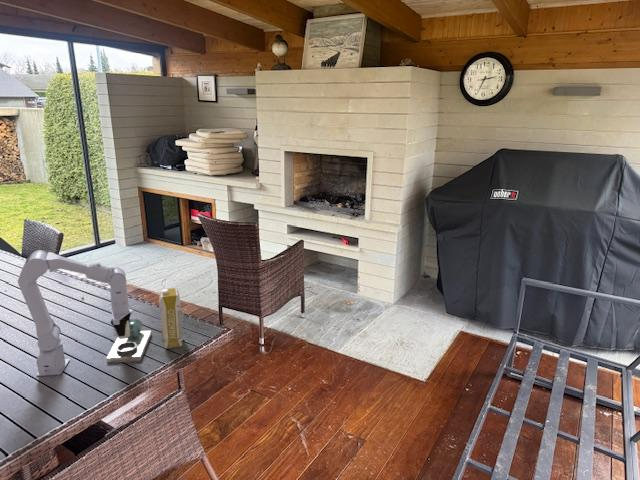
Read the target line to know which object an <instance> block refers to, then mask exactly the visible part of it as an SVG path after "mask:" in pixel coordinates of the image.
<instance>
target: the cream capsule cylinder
mask: <svg viewBox="0 0 640 480" xmlns="http://www.w3.org/2000/svg"><path fill="white" fill-rule="evenodd" d="M123 320H125V319H123ZM129 321H130V320H129ZM129 321H128V320H127V323H126V328H125V336H118V334H117V333H116V334H117V335H116V336H117V338H119V339H126V338H128V337H130V329H129Z"/></svg>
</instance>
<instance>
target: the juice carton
mask: <svg viewBox="0 0 640 480" xmlns="http://www.w3.org/2000/svg"><path fill="white" fill-rule="evenodd" d="M158 299H159V301H158V302H159V313H160V314H159V315H160V326H161V327H160V328H161V337H162V343H163V346H164V348H165V349H171V348H172V349H173V348H179V347H180V348H181V347H182V345H183V342H184V341H183V338H184V334H183V333H184V332H183V317H182V315H183V314H182V306H181V305H182V303H181V297H180V293H179V290H178V288H177V287H174V288H164V289H160V290H159V298H158Z"/></svg>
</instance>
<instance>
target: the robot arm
mask: <svg viewBox="0 0 640 480" xmlns="http://www.w3.org/2000/svg"><path fill="white" fill-rule="evenodd" d="M21 268H22V269H21V271H20V274H19V276H18V280H17V284H18V286H19V289H20V291H21V294H22V295H23V296H22V297H23V299H24V301H25V303H26V306H27V308H28V311H29V313H30V315H31V318H32V320H33V323H34V325H35V330H36V331H35V332H36V336H37V347H38V349H39V353H38V354H39V355H38V357H37V358H36V365H37V366H36V367H37V373H36V374H35V376H36V377H39V376H40V377H41V376H42V377H43V376H60V375H61V374H62V372H63V371H64V370H65V368H66V367H67V366H68V363H70V360H71V359H70V358H66V357H65V352H64V351H65V350H64V345H63V340H61V339H60V335H61V332H62V331H61V328H60V326H59V325H57V324H56V322H55V321H54V319H53V318H51V315H50V313H49V309H48V307H47V305H46V303H45V300H44V298H43V295H42V292H41V289H40V287H39V285H38V283H37V281H38V279H39V278H40V277H42V276H44V274H46V273H47V271H48V270H49V273H52V272H55V271H57V270H65V271H69V272H74V273H78V274H82V275H83V274H84V275H85V277H86V278H87V279H89V280H92V281H97V282H100V283H105V284H108V285H109V286H110V290H109V293H110V302H112V304H111V310H113V311H112V312H111V315H112V319H111V320H110V325H112V326H113V327H114V329H115V330H116V334H118V335H117V337H118V336H125V328H126V323H127V320H128V321H130V320H131V315H132V313H133V310H134V309H133V308H132V309H130V304H129V295H128V287H127V277H126V272H125V270H124V269H122V268H120V267H118V266H117V267H113V266H111V267H109V266H105V265H102V264H101V262H96V263H95V262H92V263H89V264H86V263H82V262H80V261H78V260H77V261H76V260H74V259H71V258H68V257H65V256H62V255H58V254H56V253H55V252H52V251H51V252H50V251H45V250H41V249H37V250H35V251H33V252H32V253H31V254H30V255H29V256H28V257H27V258H26V259H25V262H24V264H23V267H21ZM123 319H125V320H123Z"/></svg>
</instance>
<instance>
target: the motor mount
mask: <svg viewBox="0 0 640 480" xmlns="http://www.w3.org/2000/svg"><path fill="white" fill-rule="evenodd" d="M143 327H144V326H143V322H142V321H141V320H139V319H138V318H133V319H129V329H130V337H128V338H126V339H119V338H118V337H117V338H116V340H115V342H114V344H113V345H112V347H111V350H110V351H109V353H108V355H107V356H106V363H126V362H127V363H129V362H141V361H142V359H143V356H144V354H145V351H146V349H147V347H148V344H149V341H150V340H151V337H152V330H142V329H143Z"/></svg>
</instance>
